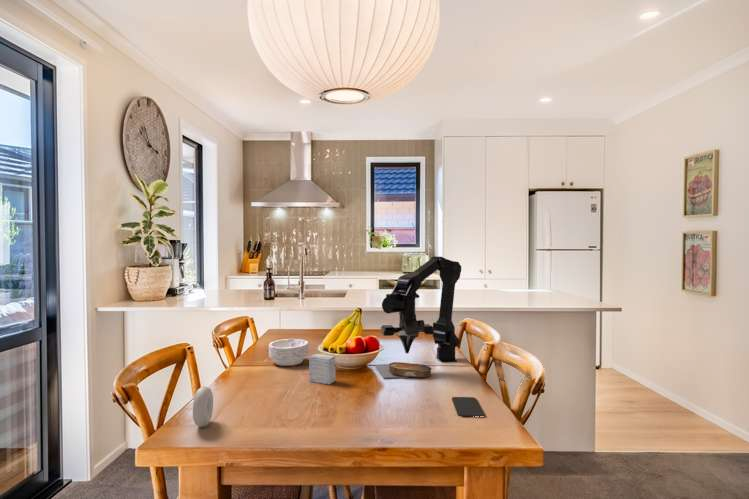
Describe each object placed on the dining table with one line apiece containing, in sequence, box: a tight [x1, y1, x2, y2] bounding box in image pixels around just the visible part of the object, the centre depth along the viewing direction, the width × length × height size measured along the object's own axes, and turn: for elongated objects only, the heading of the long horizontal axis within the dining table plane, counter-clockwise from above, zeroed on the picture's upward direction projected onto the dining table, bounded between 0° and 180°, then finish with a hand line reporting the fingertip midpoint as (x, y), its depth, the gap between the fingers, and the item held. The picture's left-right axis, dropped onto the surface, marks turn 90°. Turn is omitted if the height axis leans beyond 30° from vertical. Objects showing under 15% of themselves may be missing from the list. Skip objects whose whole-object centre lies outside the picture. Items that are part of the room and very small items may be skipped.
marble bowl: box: [268, 338, 310, 367], centre depth 177 cm, size 15×15×8 cm
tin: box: [388, 361, 432, 379], centre depth 163 cm, size 15×3×8 cm
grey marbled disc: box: [192, 385, 214, 428], centre depth 118 cm, size 10×3×10 cm, turn 6°
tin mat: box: [374, 363, 410, 380], centre depth 166 cm, size 9×16×1 cm, turn 11°
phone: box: [451, 396, 486, 418], centre depth 132 cm, size 7×1×15 cm
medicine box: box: [308, 353, 336, 385], centre depth 155 cm, size 8×4×9 cm, turn 65°
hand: (406, 353), depth 167 cm, fingers closed
